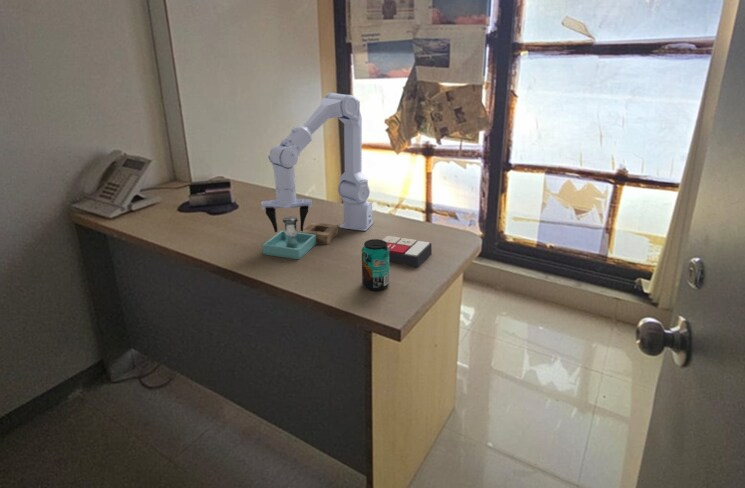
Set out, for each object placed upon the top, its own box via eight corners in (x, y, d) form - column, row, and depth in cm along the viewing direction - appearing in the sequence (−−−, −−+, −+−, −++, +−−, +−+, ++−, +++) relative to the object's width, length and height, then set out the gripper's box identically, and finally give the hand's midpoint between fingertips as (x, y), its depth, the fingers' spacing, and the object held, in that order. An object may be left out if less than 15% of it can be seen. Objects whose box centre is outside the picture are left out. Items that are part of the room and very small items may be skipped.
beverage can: (361, 279, 130) (361, 238, 125) (387, 278, 130) (388, 237, 125) (362, 292, 124) (362, 249, 119) (390, 291, 124) (390, 249, 119)
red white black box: (386, 234, 150) (432, 240, 143) (387, 246, 152) (432, 254, 145) (369, 247, 141) (417, 254, 134) (370, 260, 143) (417, 268, 136)
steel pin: (301, 244, 150) (300, 217, 146) (295, 250, 146) (292, 222, 142) (289, 242, 151) (287, 215, 147) (282, 248, 147) (279, 220, 144)
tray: (316, 243, 152) (316, 234, 151) (299, 259, 141) (298, 250, 140) (282, 238, 155) (281, 230, 154) (263, 254, 145) (262, 244, 144)
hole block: (338, 233, 159) (338, 225, 158) (327, 244, 151) (327, 235, 150) (313, 230, 162) (312, 222, 160) (301, 240, 154) (300, 232, 153)
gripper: (258, 192, 136) (263, 236, 142) (310, 190, 137) (313, 234, 143) (261, 184, 142) (265, 227, 148) (310, 183, 144) (313, 225, 149)
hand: (289, 230), depth 146 cm, fingers open, 7 cm apart
